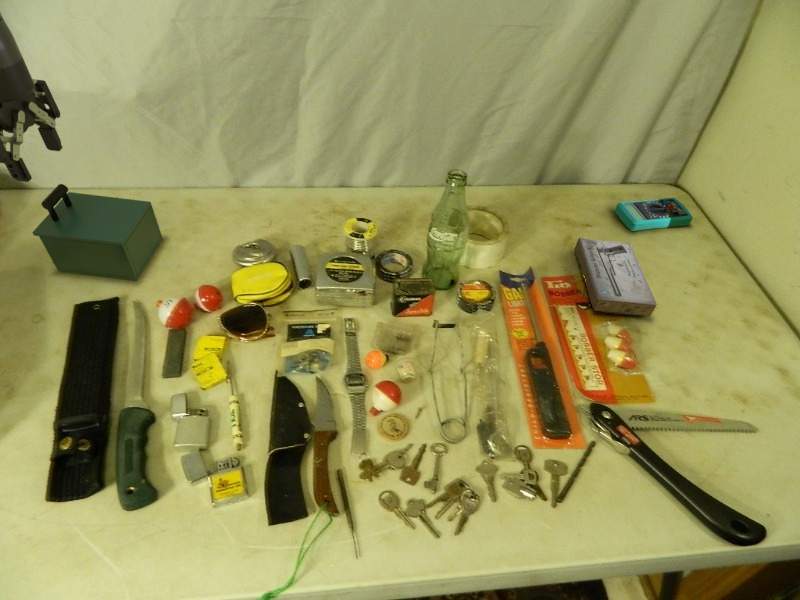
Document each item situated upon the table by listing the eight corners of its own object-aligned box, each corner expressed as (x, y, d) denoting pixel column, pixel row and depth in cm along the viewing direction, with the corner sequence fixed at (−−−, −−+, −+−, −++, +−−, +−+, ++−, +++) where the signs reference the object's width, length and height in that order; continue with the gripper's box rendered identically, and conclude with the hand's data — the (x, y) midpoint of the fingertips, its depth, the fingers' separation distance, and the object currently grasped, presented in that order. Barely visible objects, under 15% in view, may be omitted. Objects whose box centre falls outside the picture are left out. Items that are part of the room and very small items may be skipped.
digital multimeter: (690, 226, 112) (697, 215, 110) (629, 233, 109) (635, 221, 107) (671, 206, 117) (677, 195, 115) (611, 211, 114) (616, 200, 112)
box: (591, 312, 92) (598, 300, 89) (572, 248, 104) (578, 236, 102) (651, 318, 92) (659, 306, 90) (625, 254, 104) (632, 241, 102)
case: (58, 271, 90) (38, 236, 84) (90, 230, 98) (74, 196, 92) (136, 281, 90) (122, 246, 84) (163, 239, 98) (151, 205, 92)
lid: (33, 235, 84) (20, 212, 81) (70, 195, 92) (59, 172, 89) (122, 246, 84) (113, 223, 81) (151, 204, 92) (144, 181, 88)
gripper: (-7, 33, 74) (42, 138, 86) (-80, 77, 64) (-13, 188, 76) (46, 39, 74) (87, 143, 86) (-19, 83, 64) (38, 194, 76)
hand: (40, 164), depth 81 cm, fingers open, 8 cm apart
